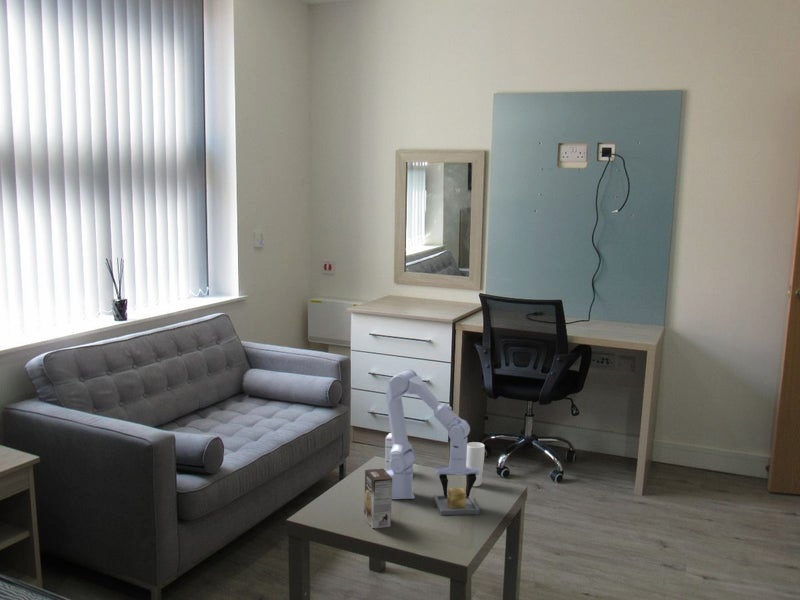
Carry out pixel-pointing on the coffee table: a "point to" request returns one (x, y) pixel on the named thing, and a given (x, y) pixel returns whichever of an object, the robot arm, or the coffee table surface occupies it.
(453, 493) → the cube
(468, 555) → the coffee table surface
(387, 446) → the syrup box
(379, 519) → the coffee box
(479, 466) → the drinking glass
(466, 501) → the tray
